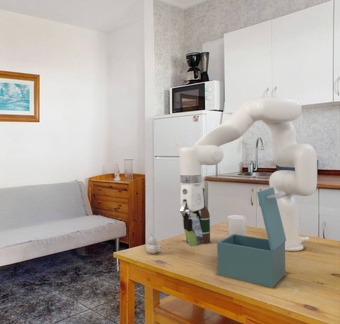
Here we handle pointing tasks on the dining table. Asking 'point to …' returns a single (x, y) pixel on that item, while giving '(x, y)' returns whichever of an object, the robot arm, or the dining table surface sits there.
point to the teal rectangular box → (250, 260)
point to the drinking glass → (236, 225)
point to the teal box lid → (272, 216)
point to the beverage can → (194, 232)
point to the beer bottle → (205, 223)
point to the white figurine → (152, 245)
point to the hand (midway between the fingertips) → (192, 227)
